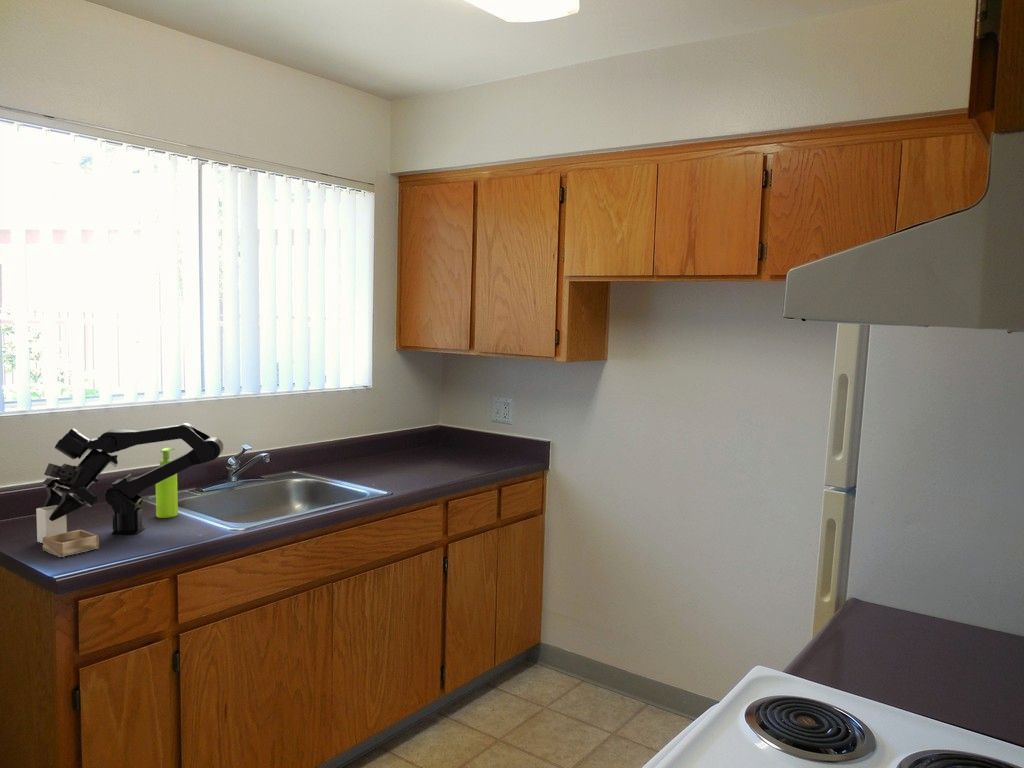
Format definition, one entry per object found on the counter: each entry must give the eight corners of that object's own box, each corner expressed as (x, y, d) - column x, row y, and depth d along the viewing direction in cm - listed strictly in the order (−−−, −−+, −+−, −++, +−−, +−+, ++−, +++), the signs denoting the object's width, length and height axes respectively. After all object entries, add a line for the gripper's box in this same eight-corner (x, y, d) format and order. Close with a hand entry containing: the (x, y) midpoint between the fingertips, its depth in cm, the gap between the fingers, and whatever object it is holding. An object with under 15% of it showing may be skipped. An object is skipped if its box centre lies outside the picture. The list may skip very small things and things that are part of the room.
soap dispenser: (182, 512, 229) (181, 446, 227) (173, 517, 222) (171, 450, 221) (162, 511, 229) (161, 446, 227) (152, 517, 222) (151, 450, 220)
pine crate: (81, 542, 196) (80, 529, 196) (99, 549, 191) (98, 535, 191) (42, 551, 189) (42, 537, 188) (60, 558, 183) (59, 544, 183)
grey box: (58, 538, 199) (57, 505, 199) (67, 541, 197) (66, 507, 196) (37, 542, 195) (36, 508, 195) (46, 546, 193) (45, 511, 192)
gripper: (49, 447, 203) (4, 495, 195) (83, 455, 192) (37, 506, 184) (80, 472, 210) (38, 519, 202) (115, 481, 199) (72, 531, 191)
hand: (45, 518), depth 194 cm, fingers closed on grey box, 5 cm apart
